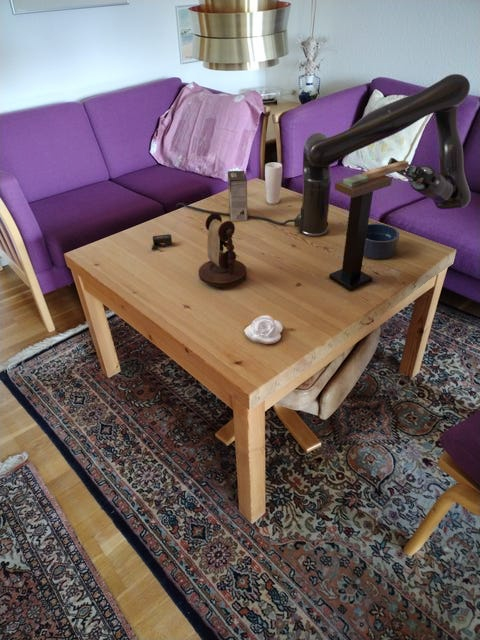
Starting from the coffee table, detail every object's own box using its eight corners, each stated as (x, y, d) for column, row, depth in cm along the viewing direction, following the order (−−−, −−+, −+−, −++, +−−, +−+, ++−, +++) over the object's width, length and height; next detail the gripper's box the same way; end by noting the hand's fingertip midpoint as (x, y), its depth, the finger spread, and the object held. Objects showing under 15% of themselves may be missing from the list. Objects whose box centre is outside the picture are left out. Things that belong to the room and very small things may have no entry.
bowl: (353, 257, 154) (355, 239, 150) (357, 239, 164) (359, 221, 160) (395, 262, 151) (399, 244, 147) (396, 243, 161) (399, 225, 157)
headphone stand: (356, 266, 149) (370, 169, 131) (377, 279, 143) (395, 179, 125) (322, 280, 143) (332, 181, 125) (343, 294, 137) (356, 191, 118)
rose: (272, 305, 126) (290, 325, 119) (272, 318, 128) (289, 338, 121) (238, 315, 123) (255, 336, 115) (238, 329, 125) (255, 350, 118)
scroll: (190, 275, 148) (184, 215, 136) (229, 260, 154) (226, 202, 142) (216, 296, 138) (212, 234, 126) (256, 279, 145) (256, 219, 133)
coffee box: (228, 211, 185) (227, 170, 175) (245, 210, 185) (244, 169, 176) (230, 221, 178) (229, 179, 168) (247, 220, 178) (247, 178, 168)
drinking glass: (280, 205, 188) (281, 168, 179) (263, 204, 189) (263, 167, 180) (282, 199, 193) (283, 162, 184) (266, 198, 195) (266, 161, 186)
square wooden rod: (400, 165, 133) (401, 159, 131) (409, 168, 130) (410, 162, 129) (342, 183, 123) (343, 176, 122) (351, 187, 121) (352, 180, 120)
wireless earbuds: (151, 244, 164) (150, 236, 162) (171, 242, 165) (170, 234, 163) (152, 251, 161) (150, 242, 159) (172, 248, 162) (171, 240, 160)
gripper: (416, 164, 145) (388, 145, 134) (456, 177, 135) (430, 158, 124) (403, 187, 147) (376, 171, 136) (442, 202, 138) (415, 186, 127)
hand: (402, 165), depth 130 cm, fingers open, 8 cm apart
